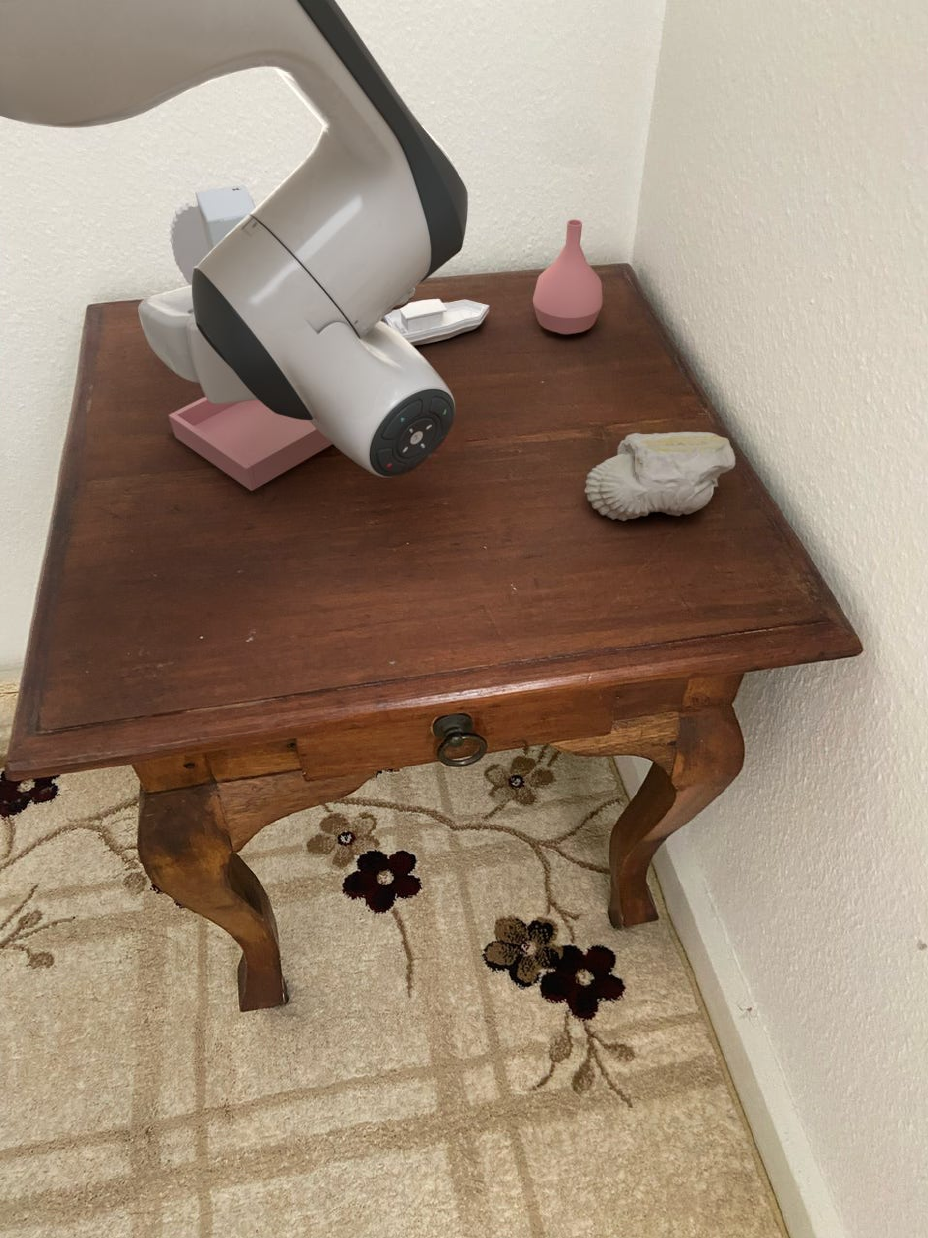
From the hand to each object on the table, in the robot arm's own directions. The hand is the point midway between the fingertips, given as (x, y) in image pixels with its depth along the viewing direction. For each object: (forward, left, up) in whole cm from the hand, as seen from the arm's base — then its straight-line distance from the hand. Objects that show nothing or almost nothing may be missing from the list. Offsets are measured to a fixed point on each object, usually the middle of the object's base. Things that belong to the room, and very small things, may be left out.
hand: (235, 264), depth 74 cm
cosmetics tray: (0, 0, -17) cm, 17 cm away
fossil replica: (+16, -34, -17) cm, 42 cm away
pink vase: (+35, -9, -17) cm, 40 cm away
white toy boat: (+25, +1, -17) cm, 30 cm away
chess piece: (+8, +17, -17) cm, 25 cm away
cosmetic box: (0, -1, -7) cm, 7 cm away
